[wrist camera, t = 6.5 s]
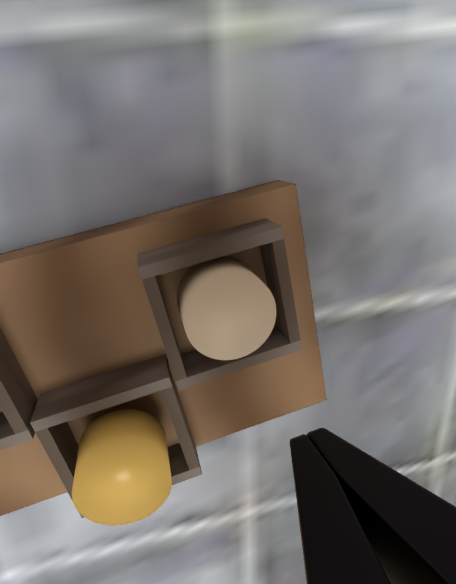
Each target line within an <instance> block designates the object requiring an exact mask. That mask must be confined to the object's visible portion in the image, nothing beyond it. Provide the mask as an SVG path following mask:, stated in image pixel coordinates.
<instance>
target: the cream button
mask: <svg viewBox="0 0 456 584" xmlns="http://www.w3.org/2000/svg"><path fill="white" fill-rule="evenodd" d="M177 305H178V309H179V313H180V316H181V319H182V322H183V325H184V329H185V332H186V335H187V337H188V339H189V341H190V343H191V344H192V345H193V347H194V348H195V349H196V350H198V351H199V352H200V353H202V354H203V355H205V356H207V357H210V358H213V359H217V360H233V359H238V358H241V357H244V356H247V355H248V354H250V353H252V352H254V351H255V350H257V349H258V348H259V347H260V346H261V345H262V344H263V343H264V342H265V341H266V340H267V338H268V337H269V335H270V334H271V332H272V330H273V327H274V324H275V321H276V303H275V300H274V297H273V295H272V293H271V291H270V290H269V288H268V287H267V286H266V285H265V284H264V283H263V282H262V281H261V280H260V279H259V278H258V277H257V276H256V275H255V274H254V273H253V272H252V271H251V270H250V269H249V268H248V267H247V266H246V265H245V264H244V263H242V262H241V261H239V260H237V259H235V258H231V257H227V256H223V257H219V258H216V259H212V260H209V261H205V262H202V263H198V264H195V265H193V266H192V267H191V268H190V269H189V270H188V271H187V272H186V273H185V275H184V276H183V278H182V279H181V281H180V284H179V287H178V291H177Z"/></svg>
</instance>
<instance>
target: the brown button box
mask: <svg viewBox="0 0 456 584" xmlns="http://www.w3.org/2000/svg"><path fill="white" fill-rule="evenodd" d="M223 256H227V257H231V258H235V259H237V260H239V261H241V262H242V263H244V264H245V265H246V266H247V267H248V268H249V269H250V270H251V271H252V272H253V273H254V274H255V275H256V276H257V277H258V278H259V279H260V280H261V281H262V282H263V283H264V284H265V285H266V286H267V287H268V288H269V290H270V291H271V293H272V295H273V297H274V300H275V303H276V321H275V324H274V327H273V330H272V332H271V334H270V335H269V337H268V338H267V340H266V341H265V342H264V343H263V344H262V345H261V346H260V347H259V348H258V349H257V350H255V351H254V352H252V353H250V354H248V355H247V356H244V357H241V358H238V359H233V360H217V359H213V358H210V357H207V356H205V355H203V354H202V353H200V352H199V351H198V350H196V349H195V348H194V347H193V345H192V344H191V343H190V341H189V339H188V337H187V335H186V332H185V329H184V325H183V322H182V319H181V316H180V313H179V309H178V305H177V291H178V287H179V284H180V281H181V279H182V278H183V276H184V275H185V273H186V272H187V271H188V270H189V269H190V268H191V267H192V266H193V265H195V264H198V263H202V262H205V261H209V260H212V259H216V258H219V257H223ZM324 400H326V393H325V386H324V379H323V372H322V365H321V358H320V351H319V344H318V337H317V330H316V323H315V316H314V309H313V302H312V295H311V289H310V282H309V275H308V268H307V261H306V254H305V247H304V240H303V233H302V226H301V219H300V212H299V205H298V198H297V191H296V184H293V183H289V182H285V181H280V180H278V181H274V182H271V183H267V184H263V185H259V186H256V187H252V188H248V189H244V190H240V191H237V192H233V193H229V194H225V195H222V196H218V197H214V198H210V199H207V200H203V201H199V202H195V203H192V204H188V205H184V206H180V207H176V208H173V209H169V210H165V211H161V212H158V213H154V214H150V215H146V216H143V217H139V218H135V219H131V220H128V221H124V222H120V223H116V224H112V225H109V226H105V227H101V228H97V229H94V230H90V231H86V232H82V233H79V234H75V235H71V236H67V237H63V238H60V239H56V240H52V241H48V242H45V243H41V244H37V245H33V246H30V247H26V248H22V249H18V250H15V251H11V252H7V253H3V254H0V516H1V515H4V514H7V513H10V512H13V511H16V510H18V509H21V508H24V507H27V506H30V505H32V504H35V503H38V502H41V501H44V500H46V499H49V498H52V497H55V496H58V495H60V494H63V493H66V492H68V493H69V495H70V497H71V499H72V487H73V481H74V474H75V468H76V462H77V456H78V449H79V443H80V439H81V436H82V434H83V432H84V431H85V429H86V428H87V427H88V425H89V424H90V423H92V422H93V421H94V420H95V419H97V418H98V417H100V416H102V415H104V414H106V413H109V412H112V411H115V410H121V409H134V410H140V411H143V412H146V413H148V414H150V415H152V416H153V417H155V418H156V419H157V420H158V421H159V422H160V423H161V425H162V426H163V428H164V430H165V434H166V441H167V448H168V456H169V463H170V471H171V479H172V485H173V484H176V483H179V482H182V481H184V480H187V479H190V478H193V477H195V476H198V475H201V474H202V472H201V467H200V463H199V459H198V454H197V450H196V446H198V445H201V444H204V443H206V442H209V441H212V440H215V439H218V438H221V437H223V436H226V435H229V434H232V433H235V432H237V431H240V430H243V429H246V428H249V427H251V426H254V425H257V424H260V423H263V422H265V421H268V420H271V419H274V418H277V417H280V416H282V415H285V414H288V413H291V412H294V411H296V410H299V409H302V408H305V407H308V406H310V405H313V404H316V403H319V402H322V401H324ZM72 501H73V500H72ZM78 512H79V511H78ZM79 514H80V512H79ZM80 515H81V517H82V518H84V516H83V515H82V514H80Z"/></svg>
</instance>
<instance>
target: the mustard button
mask: <svg viewBox="0 0 456 584" xmlns="http://www.w3.org/2000/svg"><path fill="white" fill-rule="evenodd" d="M171 485H172V479H171V471H170V463H169V456H168V448H167V441H166V434H165V430H164V428H163V426H162V425H161V423H160V422H159V421H158V420H157V419H156V418H155V417H153V416H152V415H150V414H148V413H146V412H143V411H140V410H134V409H121V410H115V411H112V412H109V413H106V414H104V415H102V416H100V417H98V418H97V419H95V420H94V421H93V422H92V423H90V424H89V425H88V427H87V428H86V429H85V431H84V432H83V434H82V436H81V439H80V443H79V449H78V456H77V462H76V468H75V474H74V481H73V487H72V500H73V503H74V505H75V507H76V509H77V510H78V511H79V512H80V514H82V515H83V516H84V517H85V518H87V519H89V520H91V521H93V522H96V523H100V524H105V525H123V524H129V523H133V522H136V521H139V520H141V519H143V518H145V517H147V516H149V515H150V514H152V513H153V512H155V511H156V510H157V509H158V508H159V507H160V506H161V505H162V504H163V503H164V502H165V500H166V499H167V497H168V495H169V493H170V490H171Z"/></svg>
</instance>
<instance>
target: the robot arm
mask: <svg viewBox="0 0 456 584" xmlns="http://www.w3.org/2000/svg"><path fill="white" fill-rule="evenodd" d="M290 449H291V457H292V465H293V473H294V482H295V490H296V498H297V506H298V514H299V523H300V531H301V539H302V547H303V556H304V564H305V572H306V580H307V584H456V507H455V506H453V505H452V504H450V503H448V502H447V501H445V500H443V499H442V498H440V497H438V496H437V495H435V494H433V493H432V492H430V491H428V490H427V489H425V488H423V487H422V486H420V485H418V484H417V483H415V482H413V481H412V480H410V479H408V478H407V477H405V476H403V475H402V474H400V473H398V472H397V471H395V470H393V469H392V468H390V467H388V466H387V465H385V464H383V463H382V462H380V461H378V460H377V459H375V458H373V457H372V456H370V455H368V454H367V453H365V452H363V451H362V450H360V449H358V448H357V447H355V446H353V445H352V444H350V443H348V442H347V441H345V440H343V439H342V438H340V437H338V436H337V435H335V434H333V433H332V432H330V431H328V430H327V429H325V428H319V429H317V430H314V431H311V432H309V433H308V434H307V435H305V434H303V435H300V436H298V437H295V438H292V439H291V440H290Z"/></svg>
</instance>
